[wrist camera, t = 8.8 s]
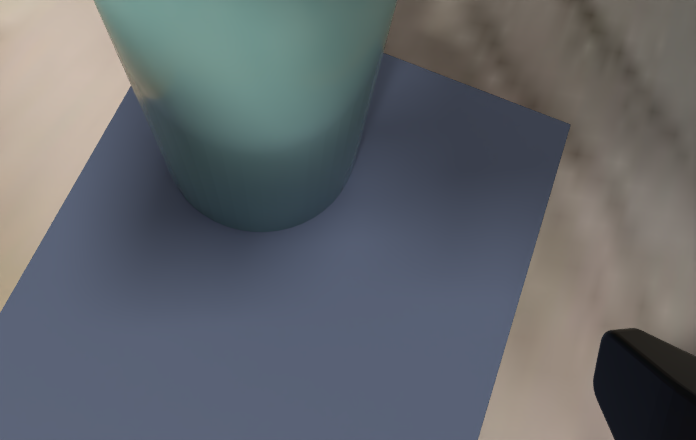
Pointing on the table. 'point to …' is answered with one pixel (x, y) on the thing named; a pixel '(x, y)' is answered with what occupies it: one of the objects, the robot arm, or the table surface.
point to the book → (287, 286)
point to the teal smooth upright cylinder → (253, 97)
